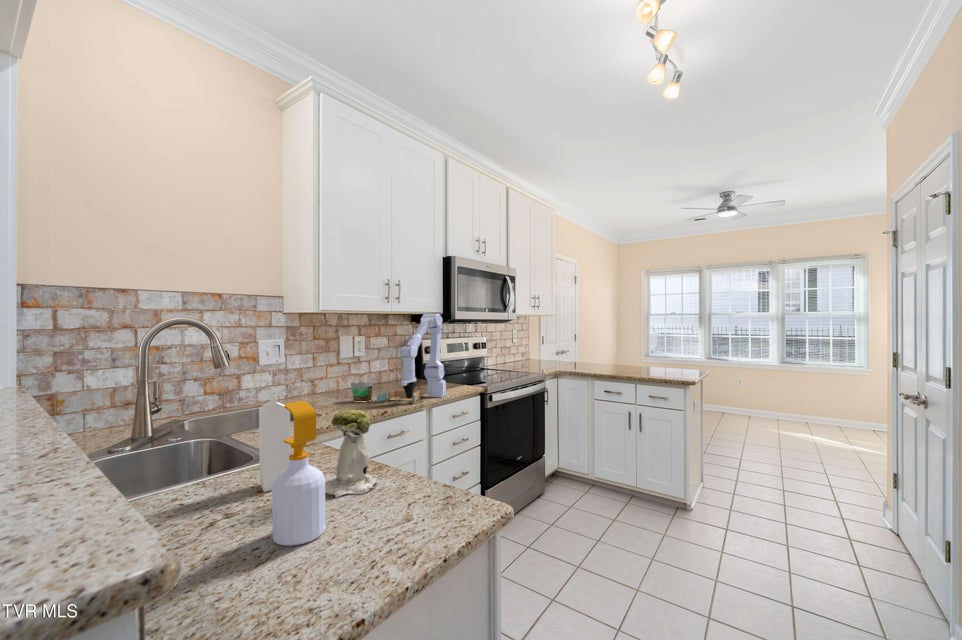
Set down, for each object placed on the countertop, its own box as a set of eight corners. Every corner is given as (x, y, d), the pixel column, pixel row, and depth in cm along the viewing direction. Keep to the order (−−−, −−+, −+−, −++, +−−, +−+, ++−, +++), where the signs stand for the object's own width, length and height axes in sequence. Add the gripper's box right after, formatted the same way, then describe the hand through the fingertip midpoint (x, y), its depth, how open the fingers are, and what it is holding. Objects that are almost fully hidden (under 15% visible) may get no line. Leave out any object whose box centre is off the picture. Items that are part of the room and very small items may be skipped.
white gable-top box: (264, 492, 97) (262, 398, 97) (259, 484, 101) (258, 395, 101) (291, 485, 100) (290, 395, 100) (285, 478, 105) (284, 392, 105)
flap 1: (377, 401, 203) (377, 394, 203) (376, 401, 203) (376, 394, 203) (387, 399, 208) (387, 392, 208) (386, 399, 208) (386, 392, 208)
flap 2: (413, 400, 205) (412, 393, 205) (414, 399, 205) (414, 393, 205) (413, 402, 199) (413, 395, 199) (415, 402, 199) (415, 395, 199)
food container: (345, 402, 206) (345, 382, 206) (352, 400, 212) (352, 381, 212) (367, 403, 202) (366, 383, 202) (373, 401, 208) (373, 381, 208)
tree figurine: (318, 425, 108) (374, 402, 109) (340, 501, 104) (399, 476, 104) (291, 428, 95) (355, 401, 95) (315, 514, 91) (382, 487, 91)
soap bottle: (310, 518, 83) (308, 396, 83) (334, 532, 77) (332, 401, 78) (264, 536, 76) (262, 404, 76) (287, 553, 71) (285, 410, 71)
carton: (420, 398, 214) (420, 390, 214) (414, 401, 206) (414, 393, 206) (394, 397, 217) (394, 390, 217) (387, 400, 209) (387, 392, 209)
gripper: (406, 368, 209) (407, 395, 209) (395, 372, 195) (395, 401, 195) (419, 369, 208) (420, 395, 208) (409, 372, 194) (409, 401, 194)
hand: (409, 398), depth 201 cm, fingers closed
